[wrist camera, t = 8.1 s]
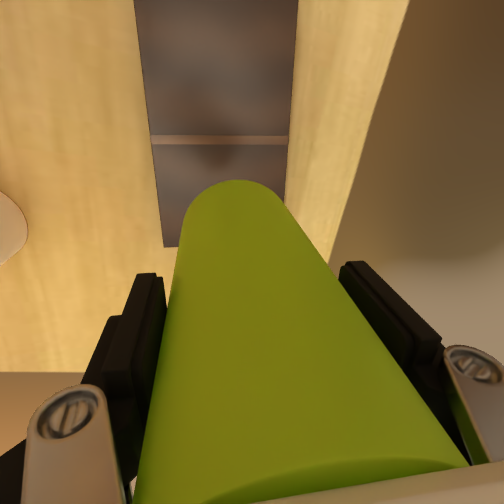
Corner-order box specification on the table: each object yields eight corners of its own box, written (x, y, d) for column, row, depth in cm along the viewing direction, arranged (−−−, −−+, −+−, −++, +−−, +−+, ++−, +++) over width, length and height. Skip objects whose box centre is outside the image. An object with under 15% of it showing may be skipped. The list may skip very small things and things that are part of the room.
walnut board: (135, -10, 24) (131, -17, 22) (293, 1, 26) (299, -4, 24) (165, 241, 34) (163, 248, 32) (278, 237, 36) (281, 242, 34)
